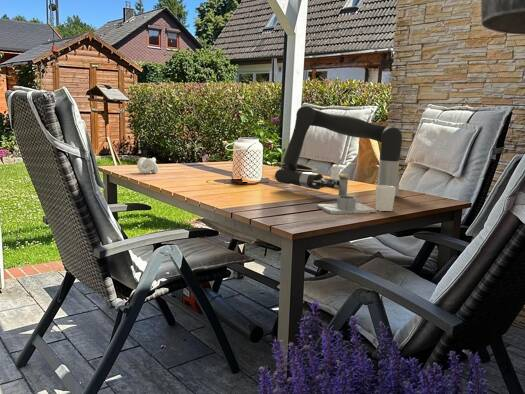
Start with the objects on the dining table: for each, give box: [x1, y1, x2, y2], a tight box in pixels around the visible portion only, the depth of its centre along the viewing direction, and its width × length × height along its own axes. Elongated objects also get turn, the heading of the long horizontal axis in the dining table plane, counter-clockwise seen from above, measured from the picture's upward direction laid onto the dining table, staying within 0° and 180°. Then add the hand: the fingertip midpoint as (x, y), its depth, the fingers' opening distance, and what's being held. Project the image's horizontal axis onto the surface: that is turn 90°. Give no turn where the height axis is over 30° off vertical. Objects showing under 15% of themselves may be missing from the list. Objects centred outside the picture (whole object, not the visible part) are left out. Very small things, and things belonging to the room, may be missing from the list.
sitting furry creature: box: [330, 164, 342, 188], centre depth 261 cm, size 10×9×12 cm
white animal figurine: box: [137, 157, 159, 175], centre depth 285 cm, size 11×12×9 cm
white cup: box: [375, 184, 396, 212], centre depth 203 cm, size 8×8×10 cm
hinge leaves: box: [316, 195, 377, 215], centre depth 202 cm, size 20×14×5 cm
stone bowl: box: [276, 161, 318, 173], centre depth 290 cm, size 25×25×9 cm
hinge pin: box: [338, 173, 350, 196], centre depth 220 cm, size 5×5×12 cm
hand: (339, 185), depth 222 cm, fingers open, 8 cm apart
